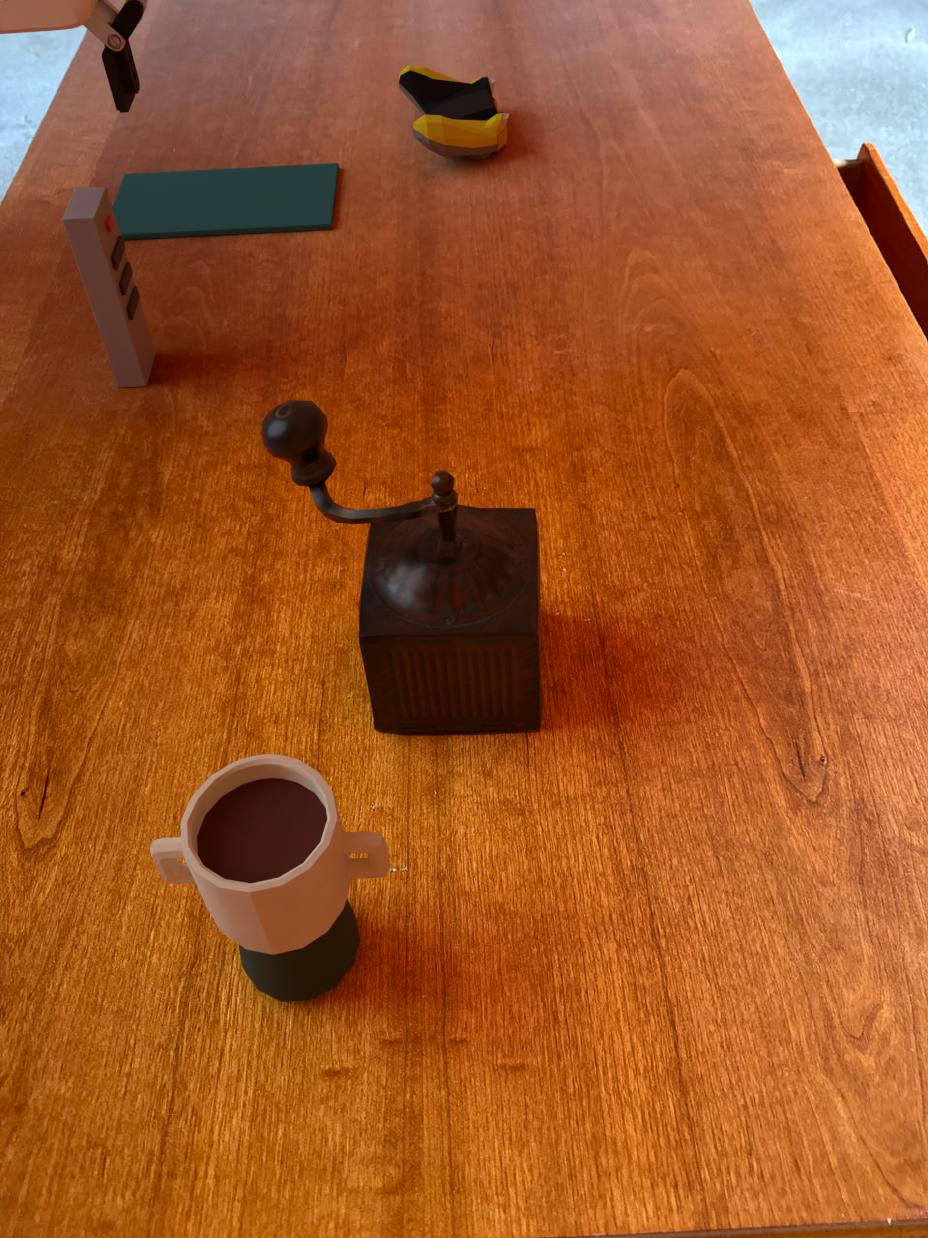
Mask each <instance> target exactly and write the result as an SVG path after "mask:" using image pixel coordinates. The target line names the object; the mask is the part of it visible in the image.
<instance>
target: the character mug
mask: <svg viewBox="0 0 928 1238" xmlns="http://www.w3.org/2000/svg"><path fill="white" fill-rule="evenodd" d="M337 801H338V800H337V797H336V795H335V794H334V792H333V791H332V789H331V787H330V786H329V784H328V783H327V781H326V780H325V779H324V777H323V776H322V774H321V773H320V772H319V771H317V770H316V769H314V768H313V767H311V766H310V765H308V764H307V763H305V762H304V761H302V760H300V759H298V758H294V757H291V756H286V755H283V754H272V753H263V754H256V755H251V756H248V757H245V758H242V759H238V760H235V761H233V762H231V763H229V764H228V765H226V766H224V767H222V768H221V769H220V770H217V771H216V772H215V773H213V774H211V775H210V776H209V777H208V778H207V779H206V780H205V781H204V782H203V784H201V786H200V787H198V789H197V790H196V791H195V792H194V794H192V796H191V797H190V799H189V801H188V803H187V806H186V809H185V811H184V813H183V815H182V817H181V820H180V836H179V837H178V836H176V837H175V836H174V837H161V838H157V839H155V840H154V841H153V842H152V843H151V844H150V848H149V852H150V855H151V858H152V860H153V862H154V865H155V866H156V869H157V871H158V873H159V875H160V878H161V879H162V880H163V881H165V883H167V884H175V885H189V884H191V885H192V884H195V885H196V887H197V889H198V891H199V893H200V896H201V898H202V900H203V903H204V904H205V907H206V909H207V911H208V913H209V914H210V916H211V918H212V919H213V921H214V922H215V924H216V926H217V928H218V929H219V931H220V932H221V933H223V934H224V935H225V936H226V937H228V938H229V939H230V940H232V941H234V942H235V943H236V944H237V945H238V950H239V951H238V952H239V956H240V957H239V958H240V961H241V966H242V969H243V971H244V972H245V974H246V975H247V977H248V979H250V981H251V982H252V984H253V985H254V987H255V988H256V989H257V991H260V992H261V993H263V994H265V995H268V996H269V997H271V998H274V999H275V1000H277V1001H279V1002H282V1003H287V1002H290V1003H291V1002H311V1001H312V1000H314V999H316V998H318V997H320V996H322V995H324V994H326V993H328V992H330V991H332V990H334V989H336V988H337V986H338V985H339V983H341V981H342V980H343V979H344V977H346V975H347V974H348V973H349V972H350V970H351V969H352V968H353V966H354V963H355V960H356V957H357V954H358V950H359V947H360V944H361V936H360V932H359V927H358V920H357V917H356V914H355V912H354V911H353V908H352V906H351V904H350V903H351V902H350V901H349V900H348V896H349V892H350V889H351V885H352V882H353V880H358V879H359V880H361V879H362V880H363V879H379V878H383V877H386V875H387V874H388V872H389V870H390V868H391V861H390V855H389V850H388V845H387V841H386V840H385V837H384V836H383V835H382V834H381V832H378V831H370V830H369V831H345V829H344V827H343V822H342V819H341V815H340V811H339V807H338V802H337ZM350 854H366V855H367V857H350ZM178 859H180V860H182V859H184V861H185V862H179V861H178Z"/></svg>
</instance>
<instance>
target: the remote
mask: <svg viewBox="0 0 928 1238" xmlns="http://www.w3.org/2000/svg"><path fill="white" fill-rule="evenodd" d="M61 221H62V224H63V227H64V230H65V234H66V236H67V240H68V242H69V245H70V248H71V251H72V254H73V257H74V261H75V264H76V266H77V269H78V272H79V275H80V278H81V281H82V284H83V287H84V290H85V294H86V296H87V299H88V302H89V305H90V308H91V311H92V314H93V317H94V320H95V322H96V326H97V329H98V332H99V335H100V337H101V341H102V343H103V347H104V350H105V353H106V356H107V359H108V361H109V365H110V368H111V370H112V373H113V377H114V380H115V383H116V386H117V388H138V387H141V388H142V387H147V386H148V382H149V379H150V376H151V372H152V368H153V366H154V365H153V364H154V361H155V358H156V353H157V352H156V350H155V345H154V342H153V338H152V336H151V332H150V329H149V325H148V322H147V319H146V315H145V312H144V309H143V305H142V302H141V295H140V292H139V289H138V286H137V285H136V282H135V278H134V275H133V274H134V273H133V272H134V271H133V268H132V265H131V262H130V261H129V258H128V255H127V251H126V245H125V240H123V237H122V236H121V234H120V231H119V227H118V224H117V220H116V217H115V214H114V210H113V203H112V200H111V197H110V194H109V189H108V187H107V185H105V186H103V185H101V186H86V187H85V186H83V187H75V188H74V189H73V191H72V194H71V196H70V199H69V202H68V204H67V206H66V209H65V211H64V213H63V216H62V218H61Z"/></svg>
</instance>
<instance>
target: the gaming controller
mask: <svg viewBox="0 0 928 1238" xmlns="http://www.w3.org/2000/svg"><path fill="white" fill-rule="evenodd" d="M495 87H496V80H495V77H489V76H480V77H476V78H475V79H473V80H471V81H466V82H464V81H461V80H458V79H456V78H454V77H451V76H449V75H446V74H443V73H441V72H439V71H436V70H434V69H431V68H429V67H427V66H425V65H417V64H407V66H405V67H404V68H403V69H402V70H401V71H400V72H399V77H398V88H399V90H400V91H401V92H402V93H403V94H404V95H405V96H406V98H407V99H408V100H409V101H410V102H411V104H412V105H414V106H415V108H416V109H417V110H418V112H420V114H422V116H420V117H419V118H417V119H416V120H415V121H413V125H412V136H413V137H414V138H415V139H416V140H417V141H418V142H419V143H421V144H422V145H423V146H424V147H425V148H426V149H427V150H429V151H431V152H433V153H435V154H437V155H439V156H441V157H443V158H448V157H466V156H467V157H468V156H469V157H470V158H471V159H473V160H484V159H487V158H490V157H491V155H492V154H493V153H496V152H499V151H500V150H501V149H502V147H504V146H505V144H506V143H507V142H508V125H507V122H508V120H509V116H510V113H507V112H506V113H505V112H502V111H500V112H499V111H498V100H497V99H496V98H495V97H494V91H495Z"/></svg>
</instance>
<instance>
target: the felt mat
mask: <svg viewBox="0 0 928 1238" xmlns="http://www.w3.org/2000/svg"><path fill="white" fill-rule="evenodd" d="M339 172H340V164H339V162H335V163H334V162H330V163H329V162H328V163H312V164H311V163H310V164H293V165H291V164H290V165H273V166H255V167H254V166H253V167H235V168H215V169H214V168H213V169H195V170H194V169H193V170H175V171H158V172H157V171H156V172H138V173H124V174H123V177H122V179H121V183H120V185H119V188H118V190H117V193H116V196H115V198H114V202H113V203H112V207H113V210H114V214H115V217H116V220H117V224H118V227H119V231H120V234H121V236H122V237H123V241H125V240H126V241H128V240H129V241H131V240H145V239H148V240H149V239H163V238H164V239H167V238H168V239H169V238H188V237H189V238H190V237H207V236H227V235H247V234H264V233H283V232H285V233H286V232H305V231H324V230H326V231H329V230H332V229H333V222H334V214H335V208H336V197H337V189H338V181H339Z"/></svg>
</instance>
